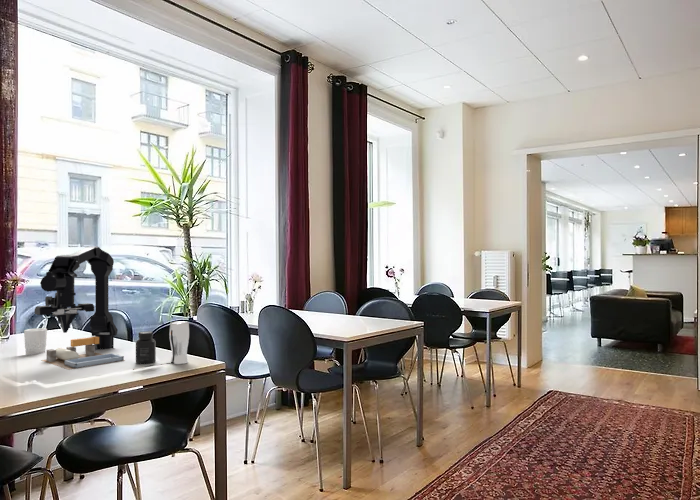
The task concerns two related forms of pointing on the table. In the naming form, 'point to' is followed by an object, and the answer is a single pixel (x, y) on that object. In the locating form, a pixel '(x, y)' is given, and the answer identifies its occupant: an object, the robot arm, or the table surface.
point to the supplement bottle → (145, 348)
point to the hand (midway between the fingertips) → (65, 332)
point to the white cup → (35, 340)
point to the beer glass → (179, 341)
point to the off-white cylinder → (66, 354)
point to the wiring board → (61, 362)
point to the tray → (93, 360)
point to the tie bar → (84, 341)
